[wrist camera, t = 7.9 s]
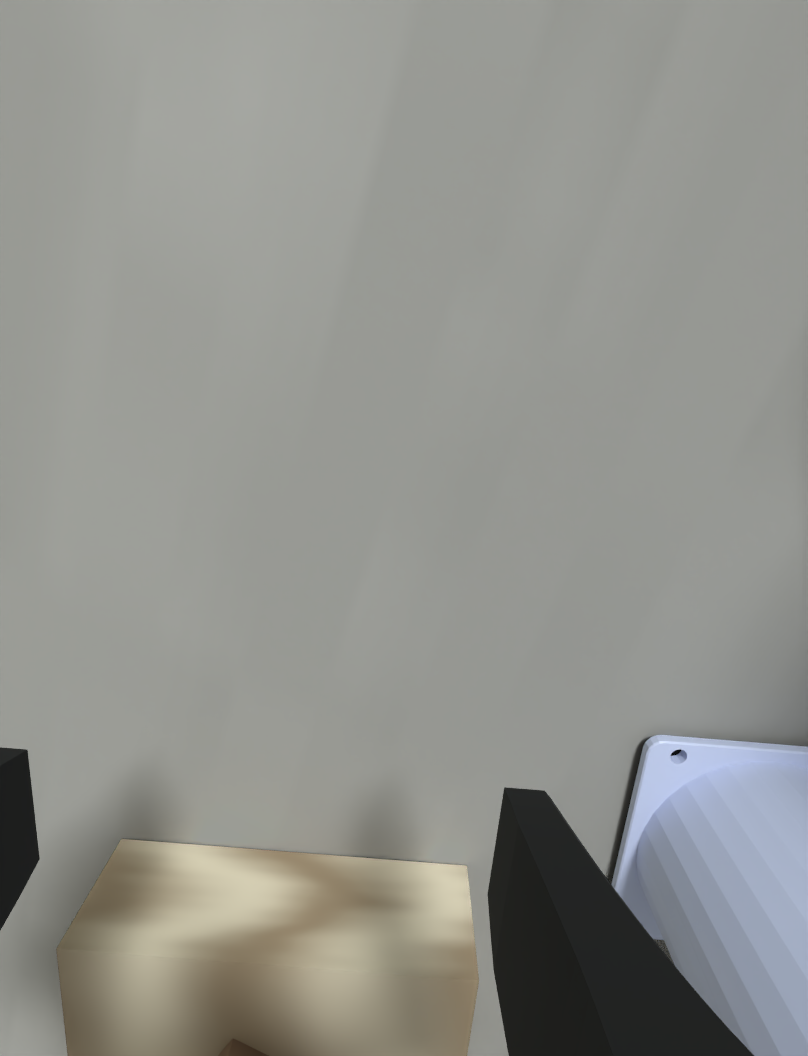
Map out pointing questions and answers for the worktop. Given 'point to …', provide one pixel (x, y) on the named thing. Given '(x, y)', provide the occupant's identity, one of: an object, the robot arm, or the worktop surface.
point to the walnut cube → (239, 1050)
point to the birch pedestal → (269, 955)
